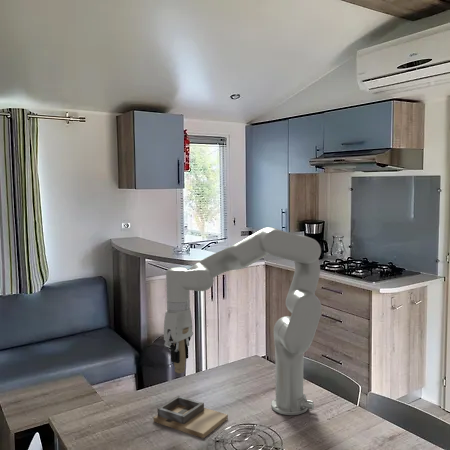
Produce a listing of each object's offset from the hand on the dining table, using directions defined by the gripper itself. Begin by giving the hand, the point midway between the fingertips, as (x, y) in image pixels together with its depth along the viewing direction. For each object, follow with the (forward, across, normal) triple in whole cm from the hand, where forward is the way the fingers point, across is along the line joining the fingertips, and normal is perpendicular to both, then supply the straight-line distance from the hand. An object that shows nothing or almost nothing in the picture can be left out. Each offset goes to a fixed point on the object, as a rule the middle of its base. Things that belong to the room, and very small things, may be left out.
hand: (179, 359), depth 155 cm
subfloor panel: (+20, 0, +4) cm, 20 cm away
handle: (+4, 0, 0) cm, 4 cm away
